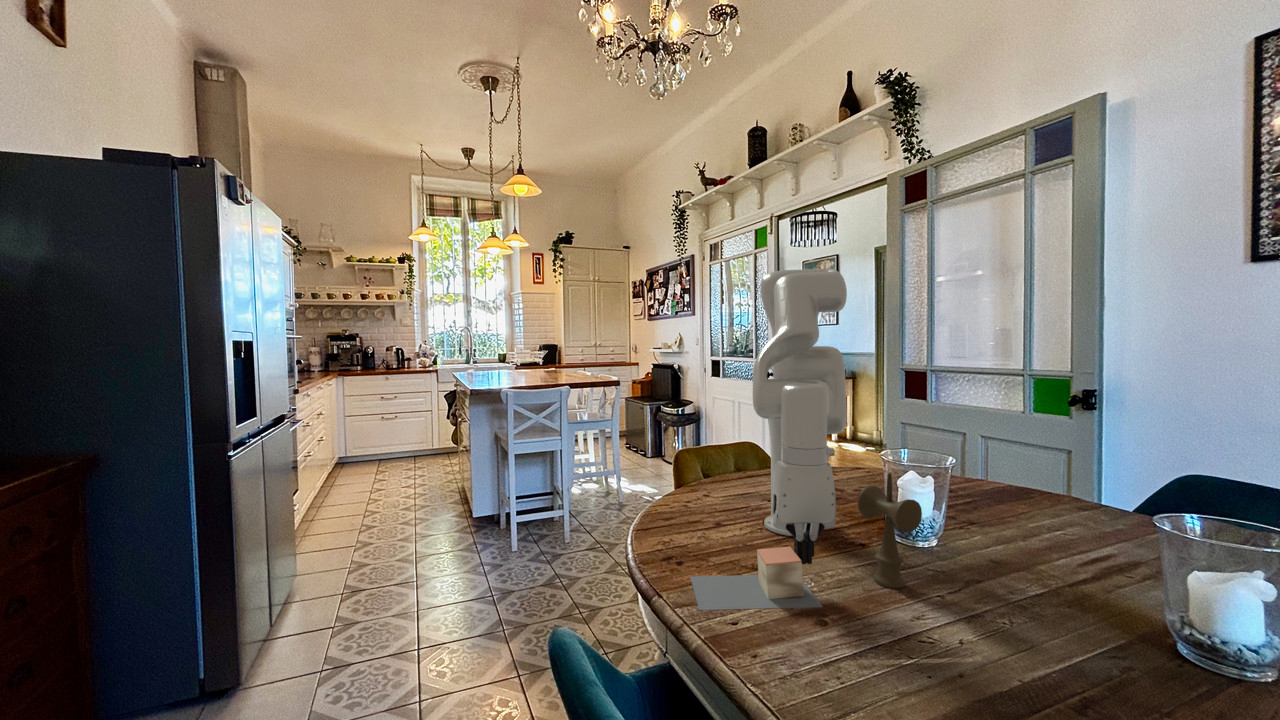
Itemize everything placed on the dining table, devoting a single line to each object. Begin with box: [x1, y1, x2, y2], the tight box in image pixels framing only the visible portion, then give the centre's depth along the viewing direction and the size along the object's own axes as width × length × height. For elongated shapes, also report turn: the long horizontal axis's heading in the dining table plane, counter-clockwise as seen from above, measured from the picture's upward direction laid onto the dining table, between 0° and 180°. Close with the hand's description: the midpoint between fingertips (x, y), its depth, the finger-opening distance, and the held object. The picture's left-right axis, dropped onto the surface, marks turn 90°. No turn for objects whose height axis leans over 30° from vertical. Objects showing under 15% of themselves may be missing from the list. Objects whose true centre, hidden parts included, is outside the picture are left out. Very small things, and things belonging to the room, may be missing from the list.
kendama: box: [857, 472, 923, 589], centre depth 92 cm, size 6×10×20 cm, turn 20°
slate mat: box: [689, 574, 823, 611], centre depth 89 cm, size 20×12×1 cm, turn 92°
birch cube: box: [756, 546, 804, 599], centre depth 89 cm, size 6×6×6 cm
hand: (804, 560), depth 89 cm, fingers closed
